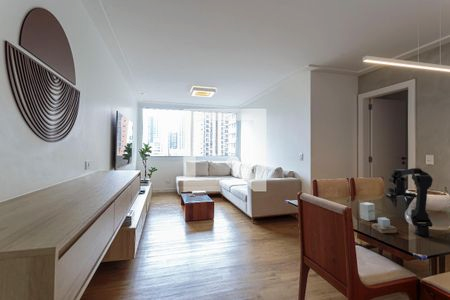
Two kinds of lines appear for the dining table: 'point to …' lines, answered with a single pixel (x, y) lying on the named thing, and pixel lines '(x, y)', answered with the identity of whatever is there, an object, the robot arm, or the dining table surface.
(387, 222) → the slate block
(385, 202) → the dining table surface
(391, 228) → the tan flat block
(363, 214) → the supplement box
